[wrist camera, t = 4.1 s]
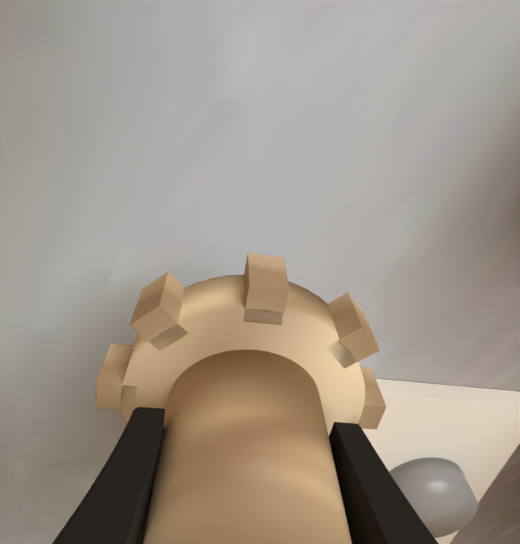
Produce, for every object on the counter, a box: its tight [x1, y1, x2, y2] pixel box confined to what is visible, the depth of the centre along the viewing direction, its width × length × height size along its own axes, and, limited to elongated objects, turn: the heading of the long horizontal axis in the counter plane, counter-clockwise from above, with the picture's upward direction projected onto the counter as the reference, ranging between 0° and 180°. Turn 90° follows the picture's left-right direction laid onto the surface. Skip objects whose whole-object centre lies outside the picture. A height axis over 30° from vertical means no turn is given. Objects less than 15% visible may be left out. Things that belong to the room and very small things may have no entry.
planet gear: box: [96, 253, 386, 544], centre depth 10 cm, size 8×8×6 cm
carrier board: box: [362, 379, 520, 544], centre depth 25 cm, size 20×14×3 cm
